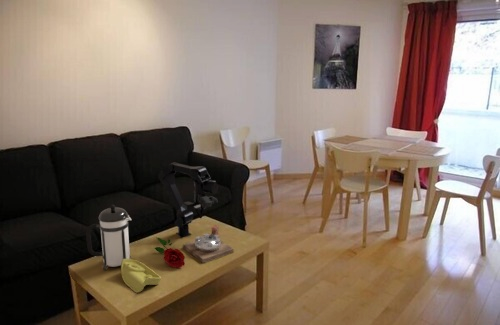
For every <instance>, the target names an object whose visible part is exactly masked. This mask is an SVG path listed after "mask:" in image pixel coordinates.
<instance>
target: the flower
mask: <svg viewBox="0 0 500 325" xmlns="http://www.w3.org/2000/svg"><path fill="white" fill-rule="evenodd" d="M155 238H156V240H157V241H158V242H160V244H161V245H162V246H163V248H162V247H160V246H159V247H158V246H157V247H153V249H154V250H155V251H156V252H158V253H160V254H163V255H164V256H163V261H164V262H165V263H167V264H168V266H169V267H170V268H176V269H177V268H178V269H179V268H180V269H181V268H182V267H184V266H185V258H186V257H185V254H184V253H183V252H182V251H181V250H180V249H178V248H172V247H171V246H172V245H173V242H171V239H170V238H167V241H166V240H165V239H164V238H161V237H157V236H156V237H155ZM167 245H168V246H170V247H169V248H168V247H166V246H167Z"/></svg>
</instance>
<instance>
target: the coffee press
mask: <svg viewBox="0 0 500 325" xmlns="http://www.w3.org/2000/svg"><path fill="white" fill-rule="evenodd" d="M98 220H99V223H92V224H90V225H89V226H88V227H87V229H86V231H85V232H86V233H85V237H86V248H87V252H88V253H89V254H90V255H91V256H93V257H102V261H103V266H102V271H107V270H108V268H109V267H111V268H112V267H113V268H114V267H119V266H120V267H121V263H122V260H123V259H132V258H131V257H132V256H131V253H130V252H131V251H130V250H131V249H130V240H129V239H130V238H129V221H132V218H131V217H130V215H129V213H128V212H127V211H126V210H125V209H124V208H122V207H116V205H115V204H111V205H110V206H109V208H106V209H104V210H102V211H101V212H100V213H99V216H98ZM97 228H99V229H100V238H101V248H102V249H101V250H102V251H94V249H93V247H92V239H91V238H92V237H91V231H92V230H93V229H97Z"/></svg>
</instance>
